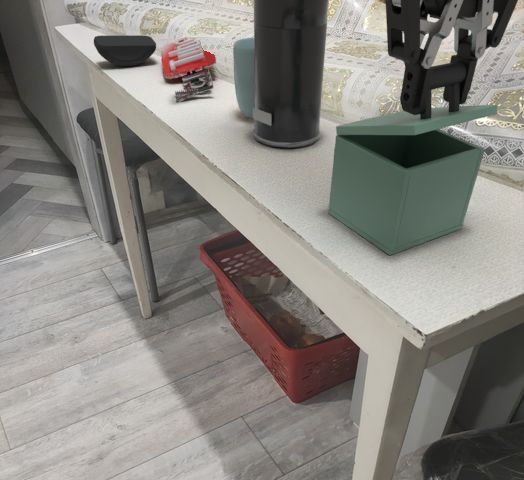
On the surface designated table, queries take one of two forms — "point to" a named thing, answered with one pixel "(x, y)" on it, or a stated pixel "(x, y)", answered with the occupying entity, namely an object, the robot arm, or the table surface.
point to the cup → (244, 75)
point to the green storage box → (403, 186)
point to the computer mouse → (125, 49)
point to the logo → (187, 65)
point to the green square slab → (430, 117)
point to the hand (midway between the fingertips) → (433, 106)
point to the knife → (202, 78)
